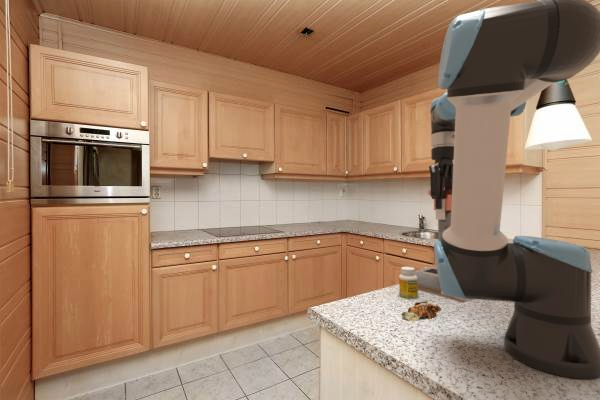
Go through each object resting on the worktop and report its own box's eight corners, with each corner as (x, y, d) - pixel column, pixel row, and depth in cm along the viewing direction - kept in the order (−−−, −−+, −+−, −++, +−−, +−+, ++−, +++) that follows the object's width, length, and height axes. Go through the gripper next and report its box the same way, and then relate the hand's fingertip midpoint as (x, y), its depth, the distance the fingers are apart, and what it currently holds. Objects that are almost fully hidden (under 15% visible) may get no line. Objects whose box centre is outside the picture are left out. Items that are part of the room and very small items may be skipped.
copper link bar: (425, 242, 102) (424, 189, 102) (433, 241, 104) (432, 189, 105) (458, 246, 93) (457, 188, 93) (466, 245, 96) (465, 188, 96)
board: (463, 306, 87) (463, 302, 87) (406, 289, 103) (406, 286, 103) (490, 294, 96) (489, 291, 96) (434, 281, 112) (434, 278, 112)
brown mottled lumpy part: (396, 317, 81) (396, 304, 81) (421, 307, 88) (421, 295, 88) (420, 326, 76) (420, 312, 75) (445, 314, 83) (444, 301, 83)
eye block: (441, 292, 96) (441, 277, 96) (413, 285, 104) (413, 270, 104) (458, 286, 102) (458, 272, 101) (430, 280, 110) (430, 266, 110)
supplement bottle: (408, 295, 98) (408, 265, 97) (421, 300, 93) (421, 268, 93) (395, 297, 95) (395, 267, 95) (408, 303, 90) (408, 271, 90)
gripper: (439, 142, 90) (441, 221, 90) (469, 147, 101) (470, 218, 101) (417, 146, 97) (418, 219, 97) (447, 151, 107) (448, 217, 107)
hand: (444, 218), depth 99 cm, fingers closed on copper link bar, 5 cm apart
